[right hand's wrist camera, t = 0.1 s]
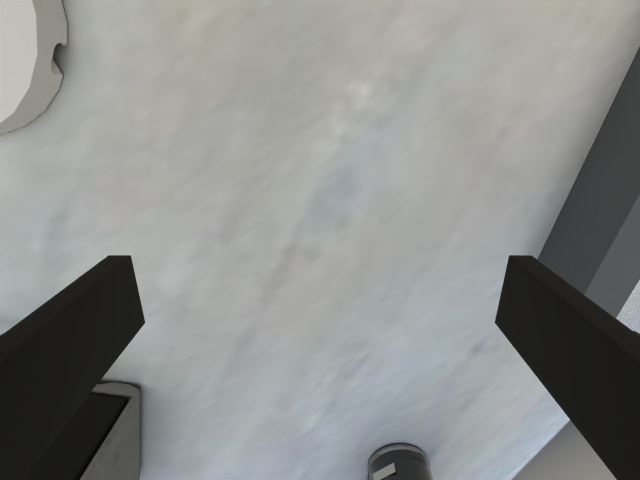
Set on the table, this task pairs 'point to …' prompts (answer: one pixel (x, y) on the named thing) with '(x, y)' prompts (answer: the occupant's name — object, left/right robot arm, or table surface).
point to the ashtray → (28, 59)
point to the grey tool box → (96, 439)
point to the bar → (604, 209)
